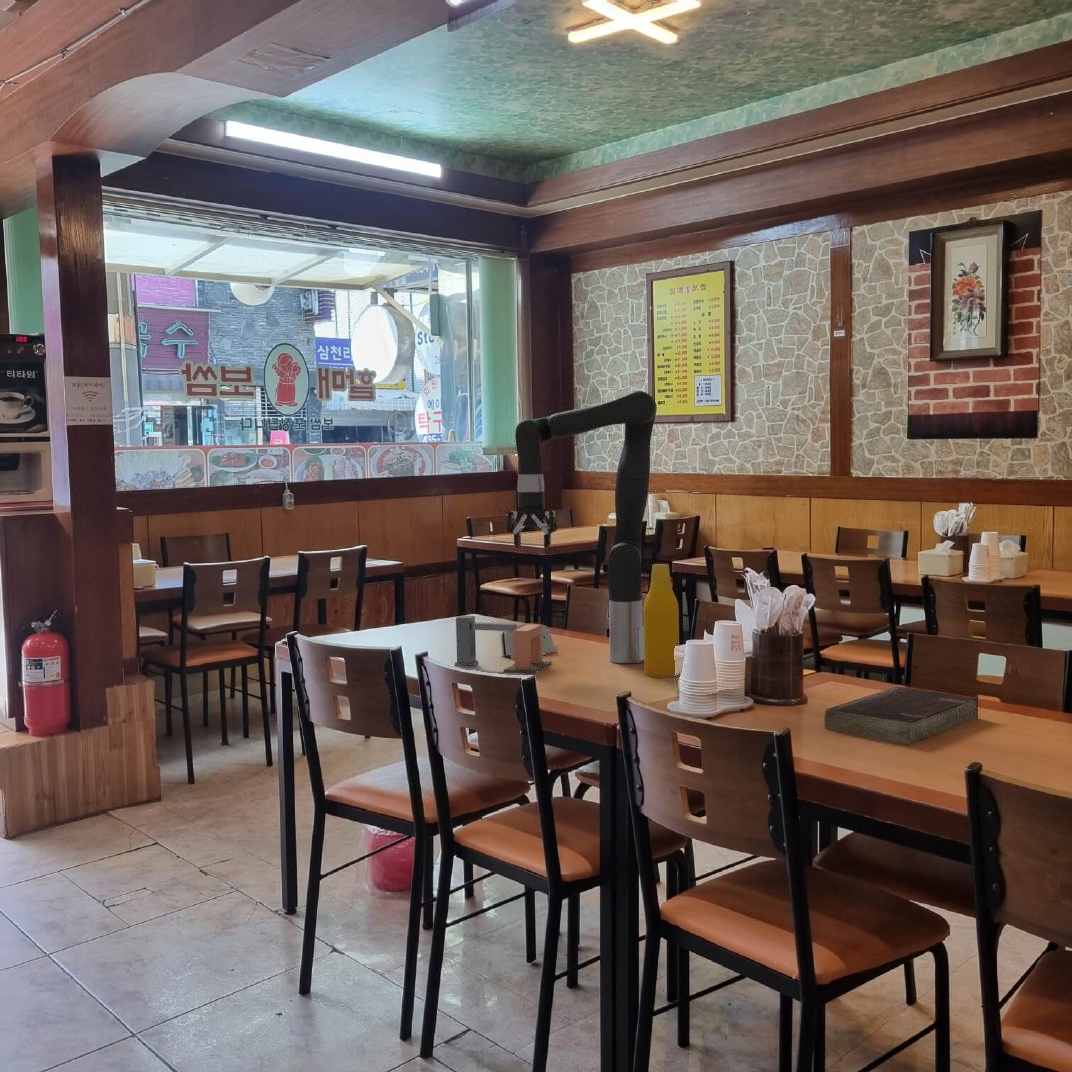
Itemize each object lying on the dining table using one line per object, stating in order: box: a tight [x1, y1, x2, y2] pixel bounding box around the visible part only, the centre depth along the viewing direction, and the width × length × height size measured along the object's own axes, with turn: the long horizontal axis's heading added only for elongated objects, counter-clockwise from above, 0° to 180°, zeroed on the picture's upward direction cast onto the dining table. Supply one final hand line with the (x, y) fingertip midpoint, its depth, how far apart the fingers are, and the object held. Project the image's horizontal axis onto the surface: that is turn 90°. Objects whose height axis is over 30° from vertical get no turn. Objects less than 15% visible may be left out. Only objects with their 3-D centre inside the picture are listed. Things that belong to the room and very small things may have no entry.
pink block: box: [514, 623, 543, 670], centre depth 286 cm, size 4×11×10 cm, turn 160°
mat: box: [503, 660, 553, 674], centre depth 286 cm, size 9×14×1 cm, turn 160°
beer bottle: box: [643, 563, 680, 679], centre depth 272 cm, size 9×9×29 cm
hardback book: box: [824, 686, 979, 747], centre depth 218 cm, size 29×19×5 cm, turn 132°
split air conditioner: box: [500, 623, 558, 660], centre depth 307 cm, size 17×5×10 cm, turn 124°
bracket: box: [454, 615, 518, 668], centre depth 290 cm, size 18×5×14 cm, turn 70°
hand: (532, 547), depth 296 cm, fingers open, 8 cm apart
